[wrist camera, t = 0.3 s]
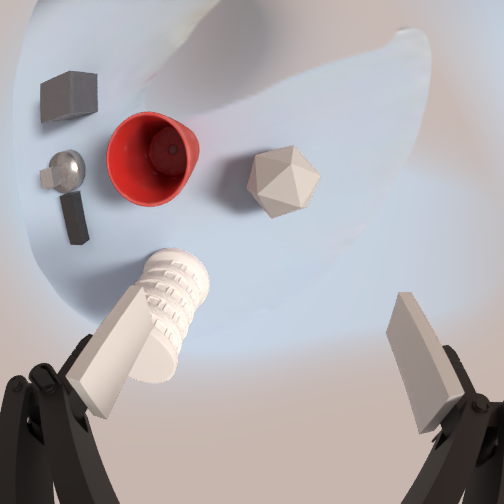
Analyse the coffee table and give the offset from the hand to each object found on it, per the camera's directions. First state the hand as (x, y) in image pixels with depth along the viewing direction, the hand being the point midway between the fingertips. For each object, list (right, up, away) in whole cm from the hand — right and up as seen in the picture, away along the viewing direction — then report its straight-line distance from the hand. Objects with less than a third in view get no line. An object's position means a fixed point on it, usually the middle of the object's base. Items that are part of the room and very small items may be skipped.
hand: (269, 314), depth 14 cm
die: (+3, +13, +24) cm, 27 cm away
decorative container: (-13, -1, +33) cm, 35 cm away
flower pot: (-12, +17, +23) cm, 31 cm away
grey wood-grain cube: (-28, +28, +20) cm, 44 cm away
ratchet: (-32, +13, +27) cm, 44 cm away
